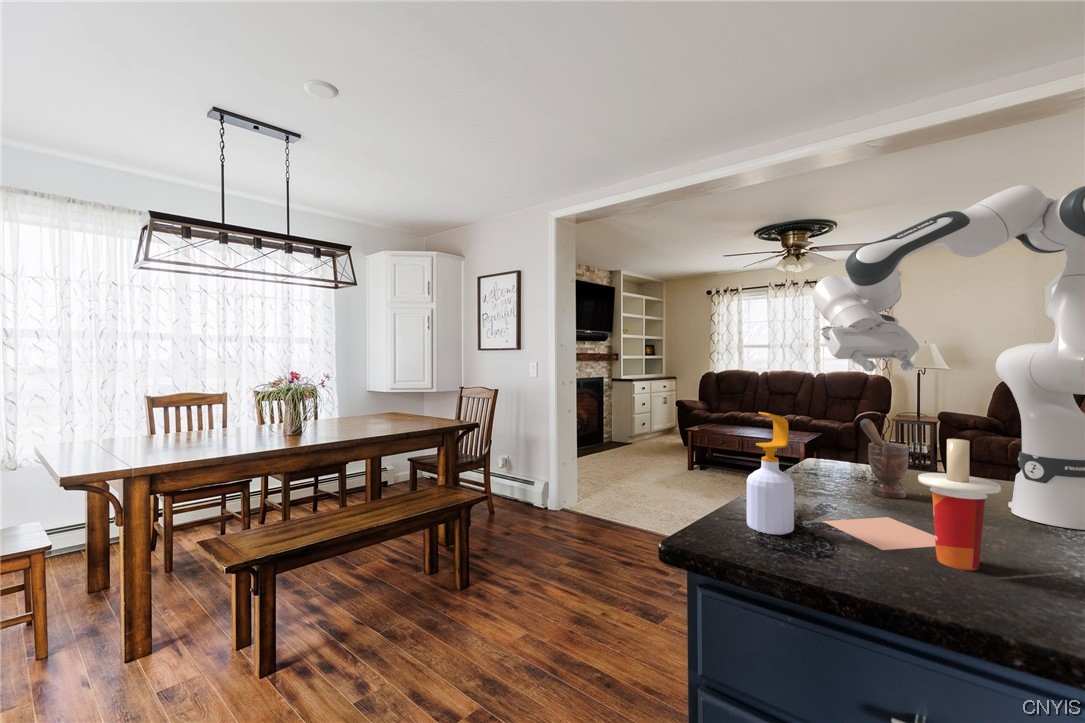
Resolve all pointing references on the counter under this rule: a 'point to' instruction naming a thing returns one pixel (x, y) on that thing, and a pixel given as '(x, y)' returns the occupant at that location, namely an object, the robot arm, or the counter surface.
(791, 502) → the soap bottle
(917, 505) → the counter surface
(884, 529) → the mat
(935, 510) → the paper cup
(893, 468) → the mortar and pestle
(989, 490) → the lid
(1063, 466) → the robot arm
